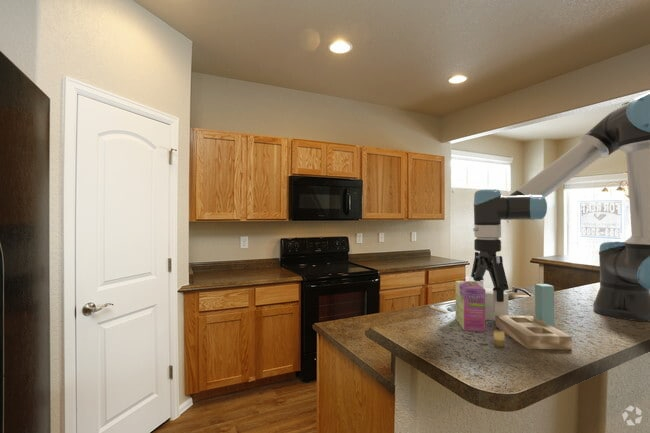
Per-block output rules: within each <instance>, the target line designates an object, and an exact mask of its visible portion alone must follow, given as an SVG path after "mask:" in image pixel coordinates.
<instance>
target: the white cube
mask: <svg viewBox="0 0 650 433" xmlns="http://www.w3.org/2000/svg"><path fill="white" fill-rule="evenodd" d="M483 288H484V289H485V321H495V315H509V310H510V308H509V293H508V292H505V291H504V313H494V312H493V290H492V289H493V288H494V287H483ZM509 316H510V315H509Z"/></svg>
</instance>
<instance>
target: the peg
mask: <svg viewBox="0 0 650 433" xmlns="http://www.w3.org/2000/svg"><path fill="white" fill-rule="evenodd" d="M534 314H535V315H534V316H535V318H537V319H539V320H541V321H542V322H544V323H546V324H548V325H550V326H552V327H554V328H555V286H554V285H552V284H548V283H534Z"/></svg>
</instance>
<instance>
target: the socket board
mask: <svg viewBox="0 0 650 433" xmlns="http://www.w3.org/2000/svg"><path fill="white" fill-rule="evenodd" d="M494 322H495V327H496V328H498V330H500V331H503V332H505V335H507V336H509V337H511V338H512V339H513V340H515V342H517V343H519V344H521V345H522V347H524V348H526V349H527V350H528V349H529V350H572V349H573V345H572V344H573V343H572V342H573V340H572V339H573V338H572V337H573V336H571V335H570V334H567V333H566V332H564V331H562V330H560V329H558V328H556V327H555V326H554V327H552V326H550V325H548V324H546V323H544V322H542V321H541V320H539V319H537V318H535V317H534V316H533V315H495V320H494Z"/></svg>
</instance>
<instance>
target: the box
mask: <svg viewBox="0 0 650 433" xmlns="http://www.w3.org/2000/svg"><path fill="white" fill-rule="evenodd" d="M484 288H485V287H484V286H483V287H481V286H480V285H478V284H477V283H476V282H474V280H473V281H471V280H470V281H469V280H467V281H466V280H455V319H456V321H457V322H458V323H459V326H460V327H461V329H462V330H463V331H469V332H483V333H485V332H486V320H485V289H484Z"/></svg>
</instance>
